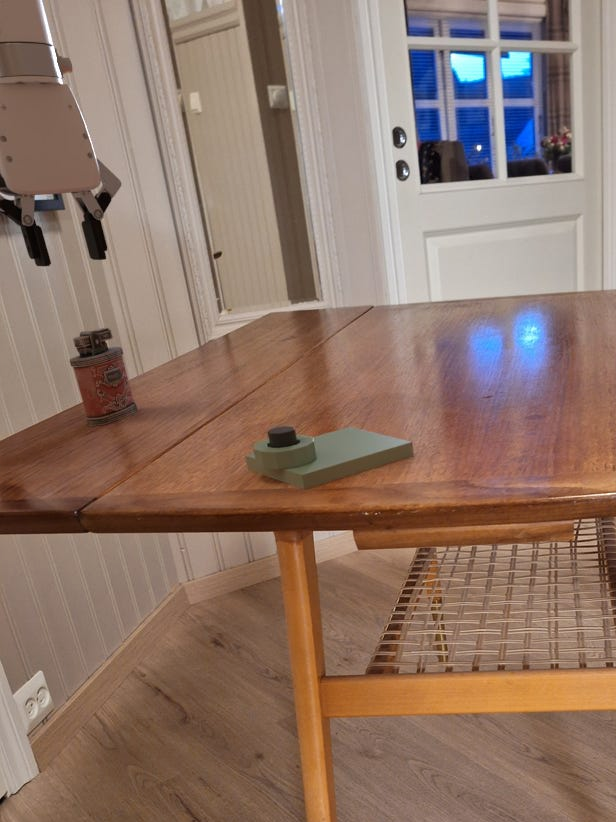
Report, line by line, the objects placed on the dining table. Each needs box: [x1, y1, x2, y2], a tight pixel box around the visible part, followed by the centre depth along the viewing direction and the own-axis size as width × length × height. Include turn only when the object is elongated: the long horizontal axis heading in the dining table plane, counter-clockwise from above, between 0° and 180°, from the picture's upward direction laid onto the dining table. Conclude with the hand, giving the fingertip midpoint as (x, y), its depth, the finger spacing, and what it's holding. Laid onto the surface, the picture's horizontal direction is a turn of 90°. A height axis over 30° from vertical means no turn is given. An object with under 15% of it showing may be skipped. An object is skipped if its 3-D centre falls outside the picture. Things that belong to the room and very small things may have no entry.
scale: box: [244, 426, 414, 490], centre depth 80 cm, size 13×10×3 cm
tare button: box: [267, 425, 298, 448], centre depth 77 cm, size 2×2×2 cm
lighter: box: [68, 327, 138, 427], centre depth 103 cm, size 8×3×10 cm, turn 167°
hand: (71, 260), depth 97 cm, fingers open, 5 cm apart
